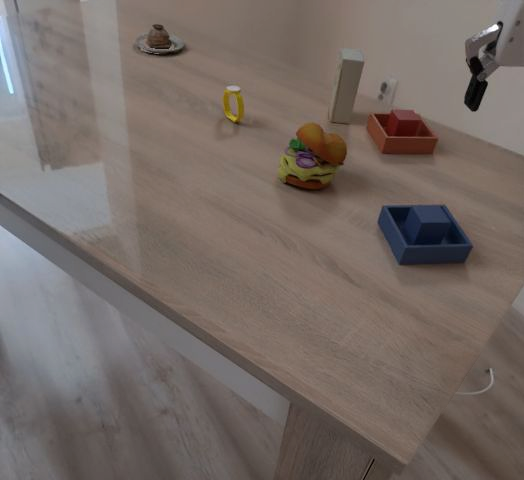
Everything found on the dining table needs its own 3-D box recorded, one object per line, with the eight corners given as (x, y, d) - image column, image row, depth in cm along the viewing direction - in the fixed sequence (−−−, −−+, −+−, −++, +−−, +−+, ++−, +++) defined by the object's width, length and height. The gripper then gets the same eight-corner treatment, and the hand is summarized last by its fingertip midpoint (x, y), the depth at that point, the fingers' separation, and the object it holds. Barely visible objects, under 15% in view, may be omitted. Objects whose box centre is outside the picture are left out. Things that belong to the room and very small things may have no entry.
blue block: (428, 229, 76) (439, 204, 73) (439, 247, 73) (450, 222, 70) (402, 230, 75) (411, 205, 72) (412, 247, 72) (422, 222, 69)
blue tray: (438, 220, 79) (445, 204, 77) (465, 262, 72) (473, 246, 70) (377, 222, 77) (382, 205, 75) (398, 264, 70) (405, 247, 68)
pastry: (135, 38, 122) (132, 16, 118) (182, 39, 124) (181, 18, 120) (135, 55, 114) (133, 33, 111) (186, 56, 116) (185, 35, 113)
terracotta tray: (414, 128, 101) (418, 113, 99) (432, 153, 94) (438, 138, 92) (366, 127, 99) (369, 112, 97) (381, 153, 93) (386, 137, 90)
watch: (246, 124, 96) (248, 93, 91) (234, 127, 95) (236, 95, 90) (230, 112, 99) (231, 81, 94) (219, 114, 98) (219, 83, 93)
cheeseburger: (265, 165, 85) (284, 108, 79) (315, 172, 90) (336, 119, 84) (287, 195, 79) (309, 136, 73) (339, 201, 84) (364, 146, 78)
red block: (405, 132, 98) (412, 109, 95) (413, 142, 95) (420, 120, 92) (385, 131, 97) (391, 109, 94) (392, 142, 95) (399, 119, 91)
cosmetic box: (328, 109, 103) (339, 46, 94) (348, 111, 104) (361, 48, 94) (329, 122, 99) (342, 58, 90) (350, 124, 100) (365, 60, 90)
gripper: (610, -49, 59) (541, 95, 73) (483, -54, 57) (435, 96, 70) (650, -33, 55) (568, 118, 68) (513, -38, 52) (456, 120, 65)
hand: (500, 107), depth 69 cm, fingers open, 9 cm apart
